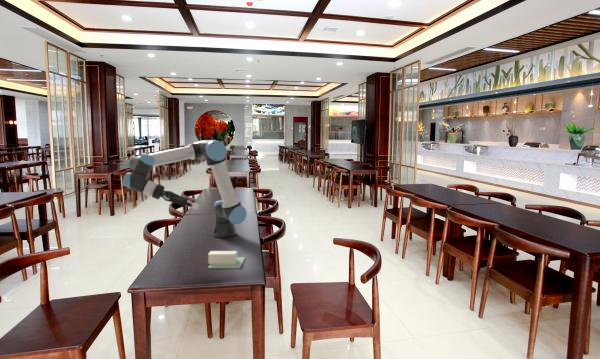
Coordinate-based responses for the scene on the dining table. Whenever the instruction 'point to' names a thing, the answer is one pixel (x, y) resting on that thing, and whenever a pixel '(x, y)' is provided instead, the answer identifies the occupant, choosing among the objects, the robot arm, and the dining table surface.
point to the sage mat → (237, 265)
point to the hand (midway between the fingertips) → (197, 207)
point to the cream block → (222, 257)
